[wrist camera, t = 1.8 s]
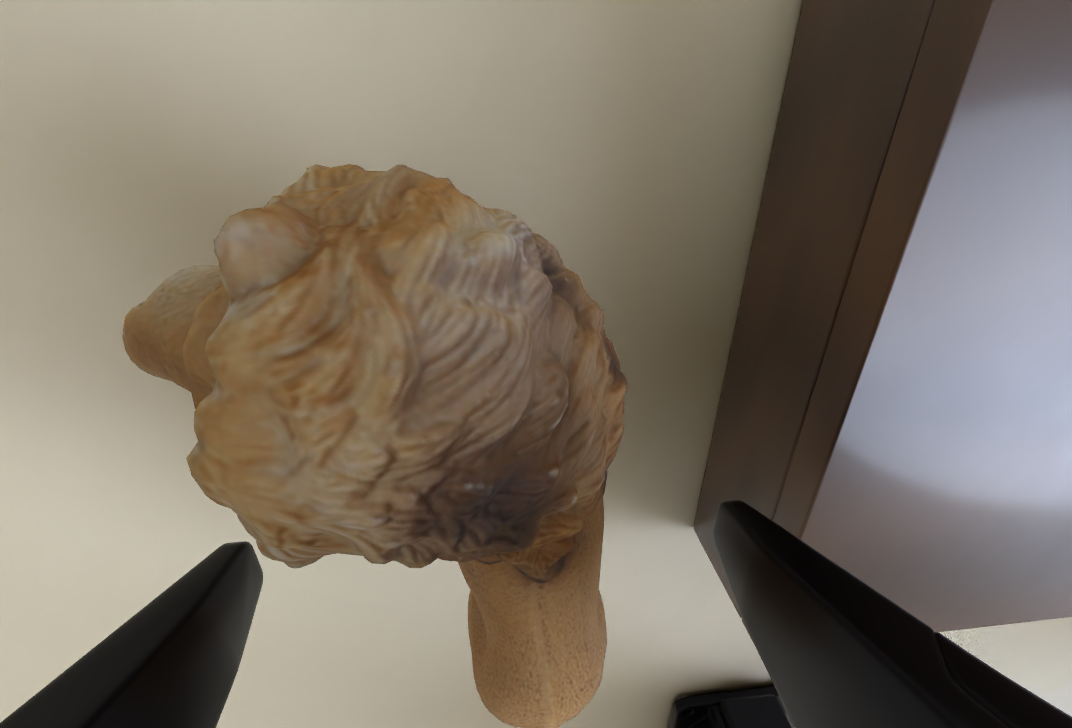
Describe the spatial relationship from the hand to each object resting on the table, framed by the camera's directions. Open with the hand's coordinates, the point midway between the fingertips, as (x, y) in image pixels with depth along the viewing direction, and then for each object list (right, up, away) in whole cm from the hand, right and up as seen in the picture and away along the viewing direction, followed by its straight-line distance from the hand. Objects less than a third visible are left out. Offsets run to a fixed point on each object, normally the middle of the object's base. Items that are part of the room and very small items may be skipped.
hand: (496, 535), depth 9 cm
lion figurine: (-1, +2, +5) cm, 5 cm away
